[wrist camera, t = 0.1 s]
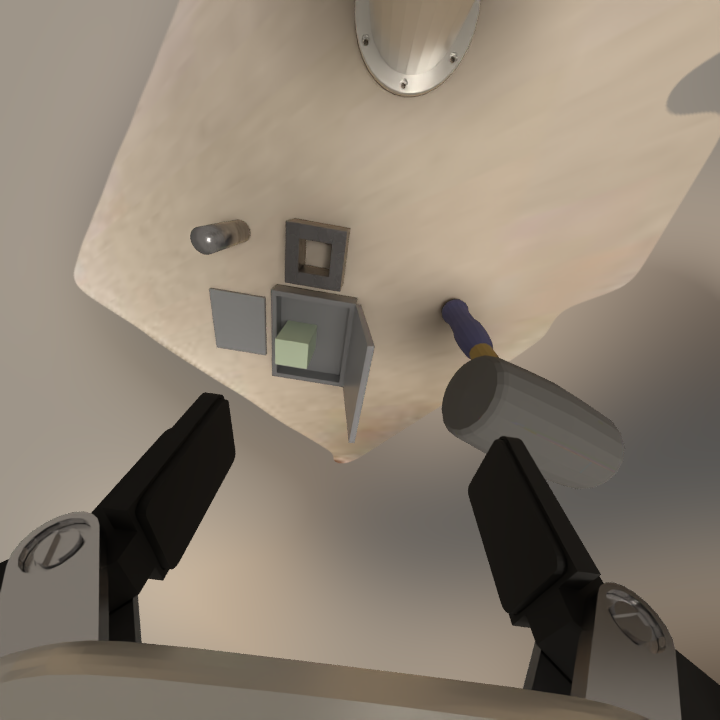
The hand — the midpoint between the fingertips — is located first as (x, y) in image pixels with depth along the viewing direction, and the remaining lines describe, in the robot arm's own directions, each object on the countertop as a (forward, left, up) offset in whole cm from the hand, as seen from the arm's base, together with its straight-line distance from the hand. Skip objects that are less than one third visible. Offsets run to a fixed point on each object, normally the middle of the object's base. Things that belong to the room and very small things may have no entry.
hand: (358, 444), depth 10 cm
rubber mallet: (+6, +14, -37) cm, 40 cm away
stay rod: (0, -20, -37) cm, 42 cm away
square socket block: (+1, -8, -37) cm, 38 cm away
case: (+15, -8, -37) cm, 40 cm away
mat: (+15, -21, -37) cm, 45 cm away
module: (+15, -10, -36) cm, 40 cm away
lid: (+15, 0, -27) cm, 31 cm away
